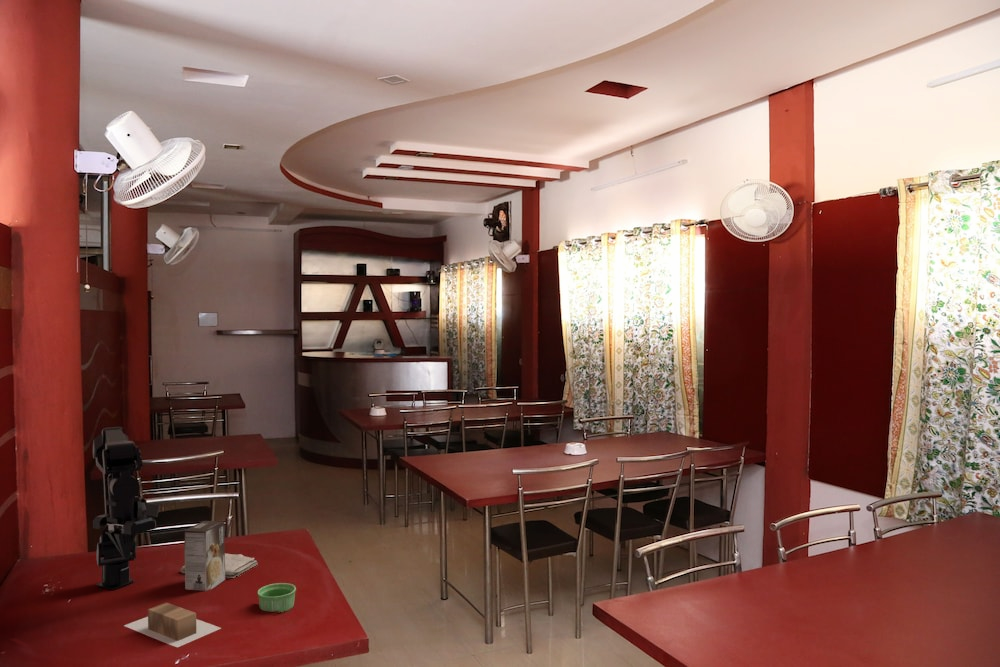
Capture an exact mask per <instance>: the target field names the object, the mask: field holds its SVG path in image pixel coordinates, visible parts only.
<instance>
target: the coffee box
mask: <svg viewBox="0 0 1000 667" xmlns="http://www.w3.org/2000/svg"><path fill="white" fill-rule="evenodd" d="M183 531H184V532H183V533H184V534H183V535H184V543H183V544H184V566H185V573H184V586H185V587H184V588H185V590H189V591H191V590H192V591H193V590H194V591H205V592H207V591H209V590H212V589H214V588H216V587H217V586H218V585H220V584H221V583H222V582H224V581H226V578H225V553H226V543H225V541H226V540H225V538H226V537H225V532H226V529H225V521H220V520H219V521H213V520H202V521H201V522H199V523H196V524H194V525H192V526H190V527H189V528H187V529H184V530H183Z"/></svg>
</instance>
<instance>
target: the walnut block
mask: <svg viewBox="0 0 1000 667" xmlns="http://www.w3.org/2000/svg"><path fill="white" fill-rule="evenodd" d="M147 617H148V629H149V630H152V631H154V632H157V633H159V634H162V635H164V636H167V637H169V638H172V639H174V640H177V641H179V640H181V639H184V638H186V637H188V636H191V635H193V634H196V619H197V613H196V612H194V611H191V610H188V609H186V608H183V607H181V606H177V605H174V604H172V603H169V602H164V603H161V604H158V605H156V606H154V607H151V608H148V609H147Z"/></svg>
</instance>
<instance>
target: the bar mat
mask: <svg viewBox="0 0 1000 667" xmlns="http://www.w3.org/2000/svg"><path fill="white" fill-rule="evenodd" d="M123 627H125V628H128V629H130V630H133V631H135V632H137V633H140V634H143V635H146V636H147V637H149V638H152V639H154V640H155V639H156V640H157V641H160V642H162V643H164V644H167V645H169V646H172V647H175V648H179V647H182V646H184V645H187V644H189V643H191V642H193V641H195V640H198V639H200V638H203V637H205V636H208V635H210V634H211V633H215V632H216V631H218V630H221V629H222V628H221V627H220V626H216V625H214V624H212V623H210V622H209V623H208V622H205V621H203V620H200V619H197V618H196V634H193V635H191V636H188V637H186V638H184V639H181V640H179V641H177V640H174V639H172V638H169V637H167V636H164V635H162V634H159V633H157V632H154V631H152V630H149V629H148V616H145V617H143V618H141V619H138V620H135V621H132V622H129V623H126V624H125V625H123Z"/></svg>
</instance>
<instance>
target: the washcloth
mask: <svg viewBox="0 0 1000 667" xmlns="http://www.w3.org/2000/svg"><path fill="white" fill-rule="evenodd" d="M256 565H257V566H258V565H259V564H258V561H257V560H255V557H249V556H245V555H243V554H242V553H240V554H239V553H238V554H231V553H226V552H225V577H226V578H225V579H229V578H234V579H235V578H237V577H236V576H238V577H240V576H241V575H240V574H241V573H243V572H245V571H247V570H249V569H250V568H252V567H254V566H256ZM257 566H256V567H257ZM254 568H255V567H254ZM249 571H250V570H249ZM247 572H248V571H247ZM180 573H182V574H185V565H183V566H181V568H180ZM239 575H240V576H239Z"/></svg>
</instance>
